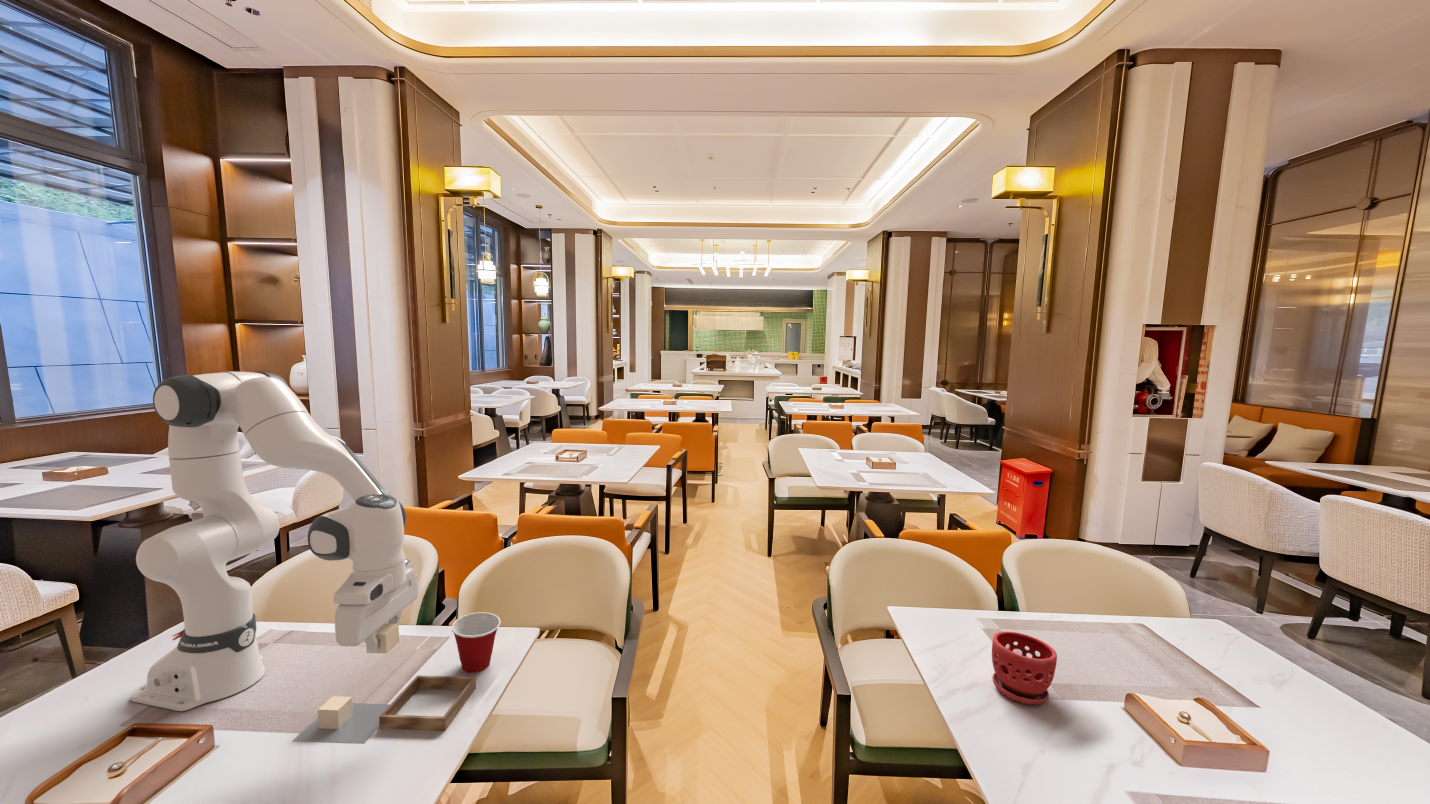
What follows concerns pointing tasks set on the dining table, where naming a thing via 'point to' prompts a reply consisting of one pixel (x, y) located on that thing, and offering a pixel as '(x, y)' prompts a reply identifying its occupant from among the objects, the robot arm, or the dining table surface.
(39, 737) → the dining table surface
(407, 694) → the walnut bin
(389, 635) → the beige block
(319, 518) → the robot arm
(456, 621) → the plastic cup
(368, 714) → the slate board
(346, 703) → the cream wooden cube
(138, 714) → the dining table surface
